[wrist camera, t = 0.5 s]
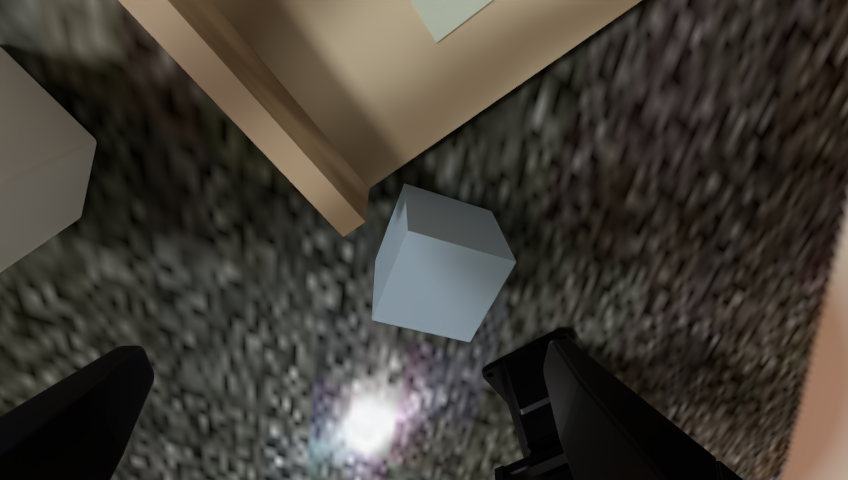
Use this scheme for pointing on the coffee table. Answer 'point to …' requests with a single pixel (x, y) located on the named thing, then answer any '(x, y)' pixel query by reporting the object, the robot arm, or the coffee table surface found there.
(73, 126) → the jar
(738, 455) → the coffee table surface
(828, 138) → the coffee table surface
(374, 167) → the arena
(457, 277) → the cube
